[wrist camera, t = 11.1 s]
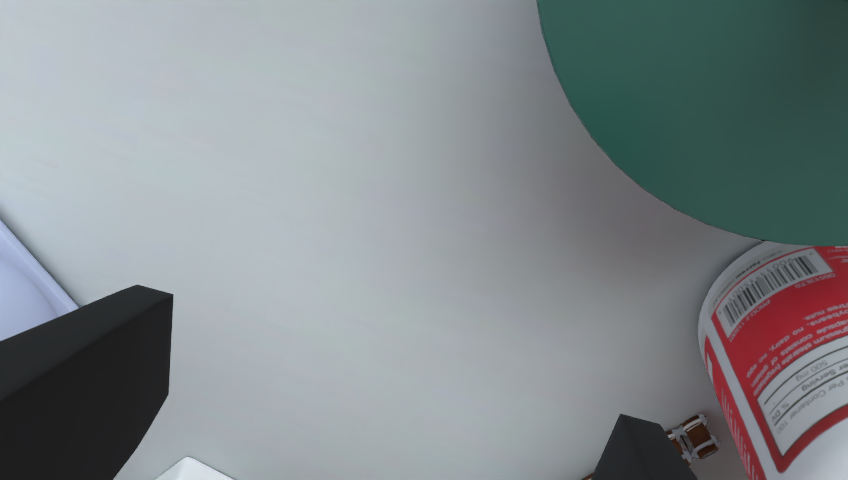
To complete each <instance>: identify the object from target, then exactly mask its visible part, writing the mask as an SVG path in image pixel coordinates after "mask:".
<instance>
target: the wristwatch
mask: <svg viewBox="0 0 848 480" xmlns="http://www.w3.org/2000/svg"><path fill="white" fill-rule="evenodd" d="M705 417H706V416H705V415H701V414H698V415H696V416H694V417H692V418H690V419H688V420H686V421H685V422H684V423H683V424H680V427H679V429H677V430H674V429H672V430H670V431H667V432H665V433H666V434H667V435H668V437H669V438H670V440H671V441H672V443H673V444H674V445H675V447H676V448H677V450H678V451H679V453H680V454H681V456H682V457H683V459H684V460H685V462H686V463H687V465H688V466H690V464H691V461H692V459H694V458H698V459H703V458H706V457H708V456H710V455H712V454H713V453H715V452H716V451H718V449H719V446H720V443H721V442H720V441H718V440H717V438H718V437H717V436H713V435H710V433H709V432H708V430H707V428H706V426H707V423H708V420H706V419H705ZM683 436H685V437H689V439H690V441H691V443H692V446H691V449H690V450H689V448H688V446H687V444H686V442H685V440H684V438H683ZM680 438H682V440H683V442H684V444H685V446H686V448H687V450H688V451H685V450H683V449H682V447H681V445H680V443H679V441H680ZM593 474H594V473H593ZM593 474H590V475H589V476H587V477H585V478H584V479H583V480H591V478H592V476H593Z"/></svg>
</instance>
